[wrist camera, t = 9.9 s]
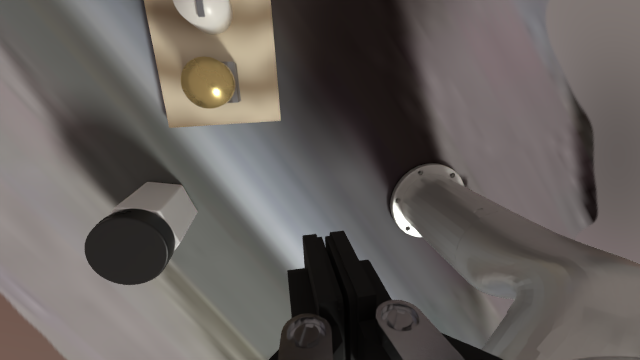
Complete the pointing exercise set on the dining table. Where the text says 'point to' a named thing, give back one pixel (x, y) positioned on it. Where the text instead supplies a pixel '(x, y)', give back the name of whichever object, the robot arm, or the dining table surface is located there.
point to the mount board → (229, 48)
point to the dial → (206, 14)
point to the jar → (140, 234)
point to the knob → (207, 82)
